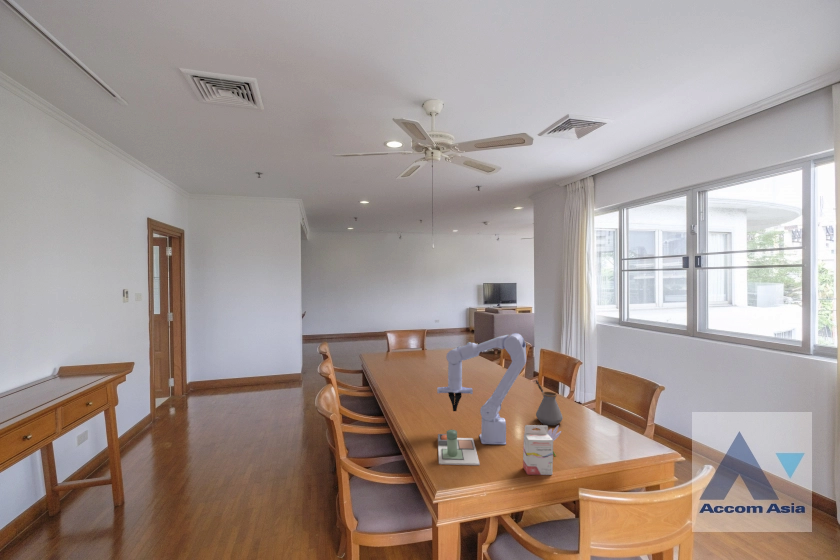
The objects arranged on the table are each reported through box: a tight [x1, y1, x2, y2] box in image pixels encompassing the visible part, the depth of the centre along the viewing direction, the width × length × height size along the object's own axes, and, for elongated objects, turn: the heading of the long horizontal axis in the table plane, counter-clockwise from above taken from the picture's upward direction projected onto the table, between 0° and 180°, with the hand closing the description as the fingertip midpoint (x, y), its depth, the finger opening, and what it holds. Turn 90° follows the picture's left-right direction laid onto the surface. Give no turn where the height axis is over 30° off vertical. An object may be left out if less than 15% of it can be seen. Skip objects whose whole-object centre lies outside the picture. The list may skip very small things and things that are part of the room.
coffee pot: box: [534, 379, 564, 426], centre depth 170 cm, size 21×12×15 cm, turn 5°
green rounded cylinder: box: [446, 429, 458, 456], centre depth 132 cm, size 4×4×8 cm
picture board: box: [437, 433, 481, 466], centre depth 136 cm, size 14×20×2 cm
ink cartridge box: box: [522, 424, 554, 476], centre depth 122 cm, size 9×5×15 cm, turn 92°
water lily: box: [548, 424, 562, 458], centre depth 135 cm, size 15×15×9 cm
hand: (454, 410), depth 152 cm, fingers closed
